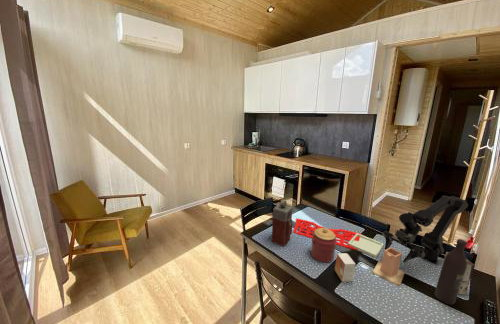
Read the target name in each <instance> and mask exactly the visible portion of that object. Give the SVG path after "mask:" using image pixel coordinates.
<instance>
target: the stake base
mask: <svg viewBox="0 0 500 324" xmlns="http://www.w3.org/2000/svg"><path fill="white" fill-rule="evenodd" d="M381 264H382V260H378V262H377V264H376V265H375V266H374V268H373V271H372V274H374V275H375V276H377V277H380V278H382V279H383V280H386V281H387V282H390V283H391V284H394V285H396V286H398V287H400V286H401V284H402V281H403V279H404V277H405V271H403V270H401V269H400V268H399V269H398V274H396V275H394V276H393V277H390V276H389V275H387V274H386V273H384V272H383V271H381V270H380V269H381Z"/></svg>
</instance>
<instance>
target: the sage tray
mask: <svg viewBox="0 0 500 324" xmlns="http://www.w3.org/2000/svg"><path fill="white" fill-rule="evenodd" d="M356 233H357V234H356V235H355V236H354V237H353V238H352V239H351V240H350V241H347V242H348V244H347V245H349V246H351V247H353V248H355V249H357V250H356V251H358V252H360V253H362V254H366V255H367V256H369V257H371V258H374V259H377V258H378V256H379V255H380V252H381V251H382V250H383V247H384V246H385V245H384V244H385V243H383V242H381V241H378V240H377V239H376V240H375V239H373V238H371V237H367V236H365V235H363V234H362V233H360V234H358V233H359V232H356ZM361 234H362V235H361ZM357 236H359V237H360V239H359V241H355V239H356V237H357Z"/></svg>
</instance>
